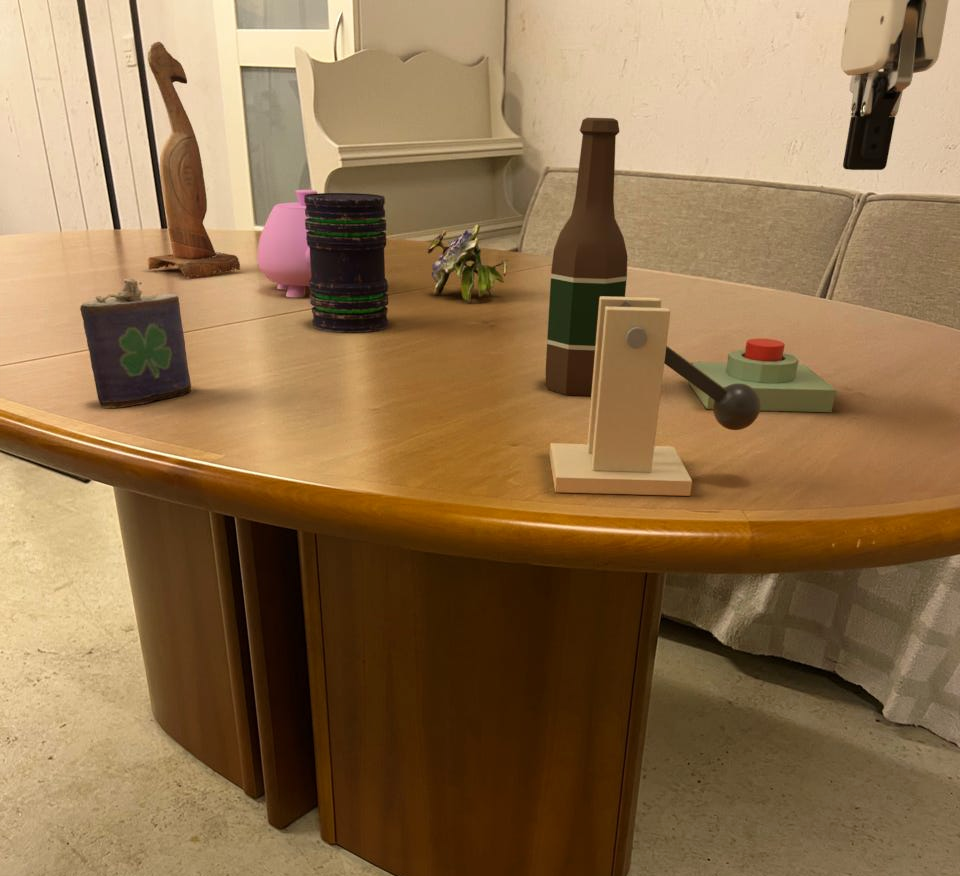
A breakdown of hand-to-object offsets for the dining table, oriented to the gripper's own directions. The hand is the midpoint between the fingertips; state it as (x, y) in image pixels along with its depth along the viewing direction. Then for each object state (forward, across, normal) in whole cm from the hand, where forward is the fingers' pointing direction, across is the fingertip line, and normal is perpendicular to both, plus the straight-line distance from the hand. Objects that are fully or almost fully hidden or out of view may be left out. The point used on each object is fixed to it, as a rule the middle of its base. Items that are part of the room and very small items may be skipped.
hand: (863, 169), depth 80 cm
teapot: (+18, +57, +59) cm, 83 cm away
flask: (+20, -3, +65) cm, 68 cm away
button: (+17, +3, +6) cm, 18 cm away
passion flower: (+19, +56, +36) cm, 69 cm away
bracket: (+21, -21, +23) cm, 37 cm away
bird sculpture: (+17, +73, +81) cm, 110 cm away
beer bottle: (+20, +5, +23) cm, 31 cm away
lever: (+14, -21, +19) cm, 32 cm away
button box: (+20, +3, +6) cm, 21 cm away
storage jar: (+19, +33, +50) cm, 63 cm away
